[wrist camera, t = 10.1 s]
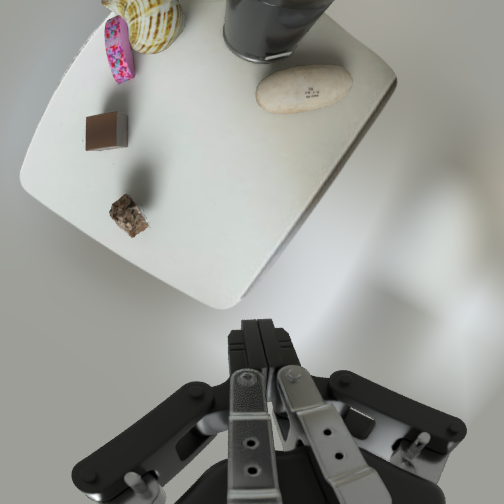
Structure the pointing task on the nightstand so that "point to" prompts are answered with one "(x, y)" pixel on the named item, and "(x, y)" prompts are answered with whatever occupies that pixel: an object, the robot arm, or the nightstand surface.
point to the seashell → (150, 22)
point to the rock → (128, 216)
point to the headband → (119, 49)
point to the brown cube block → (106, 131)
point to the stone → (303, 88)
